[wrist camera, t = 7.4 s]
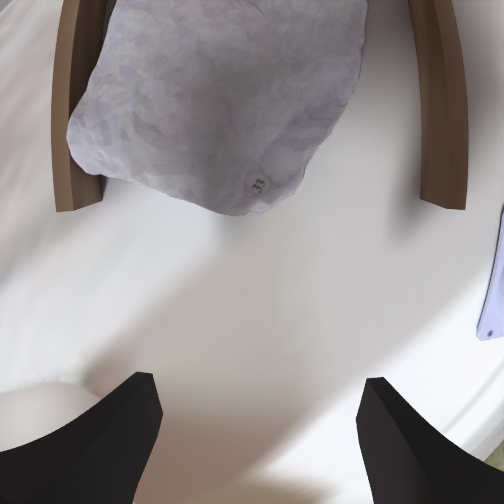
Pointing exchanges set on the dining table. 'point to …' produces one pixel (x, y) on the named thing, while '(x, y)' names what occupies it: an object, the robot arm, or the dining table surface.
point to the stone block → (218, 96)
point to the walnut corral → (431, 88)
